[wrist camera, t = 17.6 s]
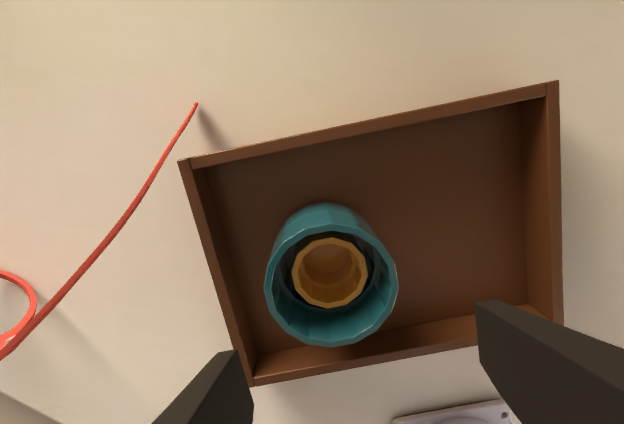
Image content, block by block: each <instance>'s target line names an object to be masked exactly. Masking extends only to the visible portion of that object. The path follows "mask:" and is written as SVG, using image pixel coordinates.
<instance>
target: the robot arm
mask: <svg viewBox="0 0 624 424" xmlns="http://www.w3.org/2000/svg"><path fill="white" fill-rule="evenodd" d="M474 309H475V319H476V329H477V339H478V349H479V359H480V363H481V365H482V366H483V368H484V370H485V371H486V373H487V375H488V376H489V378H490V380H491V381H492V383H493V385H494V386H495V388H496V389H497V391H498V392H499V394H500V396H501V397H502V398H503V399H497V400H492V401H486V402H481V403H475V404H470V405H464V406H459V407H453V408H448V409H442V410H437V411H431V412H426V413H420V414H414V415H409V416H403V417H398V418H395V419H394V420H393V421H392V424H512V417H511V410H512V411H513V413H514V414H515V415H516V417H517V418H518V419H519V420H520V422H521V423H522V424H624V349H623V348H620V347H617V346H614V345H612V344H609V343H606V342H603V341H600V340H598V339H595V338H593V337H590V336H587V335H585V334H582V333H580V332H577V331H574V330H572V329H569V328H567V327H564V326H562V325H559V324H557V323H554V322H552V321H550V320H547V319H545V318H542V317H540V316H537V315H535V314H532V313H530V312H528V311H525V310H523V309H520V308H518V307H515V306H513V305H510V304H508V303H505V302H502V301H499V300H496V299H492V300H487V301H481V302H476V303H474ZM253 410H254V403H253V399H252V396H251V393H250V389H249V386H248V383H247V379H246V376H245V373H244V369H243V366H242V363H241V360H240V356H239V353H238V350H237V349H234V350H229V351H224V352H219V353H217V354H216V355H215V356H214V357H213V358H212V359H211V360H210V361H209V362H208V363H207V364H206V365H205V367H204V368H203V369H202V370H201V371H200V372H199V373H198V374H197V375H196V376H195V378H194V379H193V380H192V381H191V382H190V383H189V384H188V385H187V386H186V388H185V389H184V390H183V391H182V392H181V393H180V394H179V395H178V396H177V397H176V398H175V400H174V401H173V402H172V403H171V404H170V405H169V406H168V407H167V408H166V409H165V410H164V411H163V412H162V413H161V414H160V415H159V416H158V417H157V418H156V419H155V421H154V422H153V423H152V424H252V422H253Z"/></svg>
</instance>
